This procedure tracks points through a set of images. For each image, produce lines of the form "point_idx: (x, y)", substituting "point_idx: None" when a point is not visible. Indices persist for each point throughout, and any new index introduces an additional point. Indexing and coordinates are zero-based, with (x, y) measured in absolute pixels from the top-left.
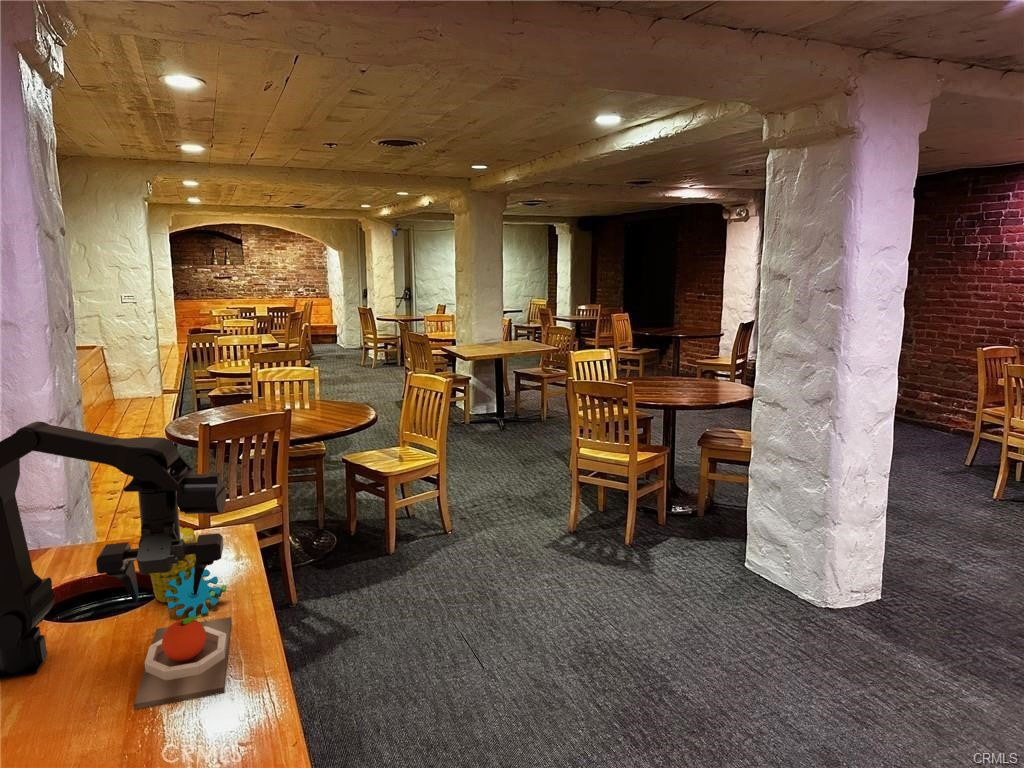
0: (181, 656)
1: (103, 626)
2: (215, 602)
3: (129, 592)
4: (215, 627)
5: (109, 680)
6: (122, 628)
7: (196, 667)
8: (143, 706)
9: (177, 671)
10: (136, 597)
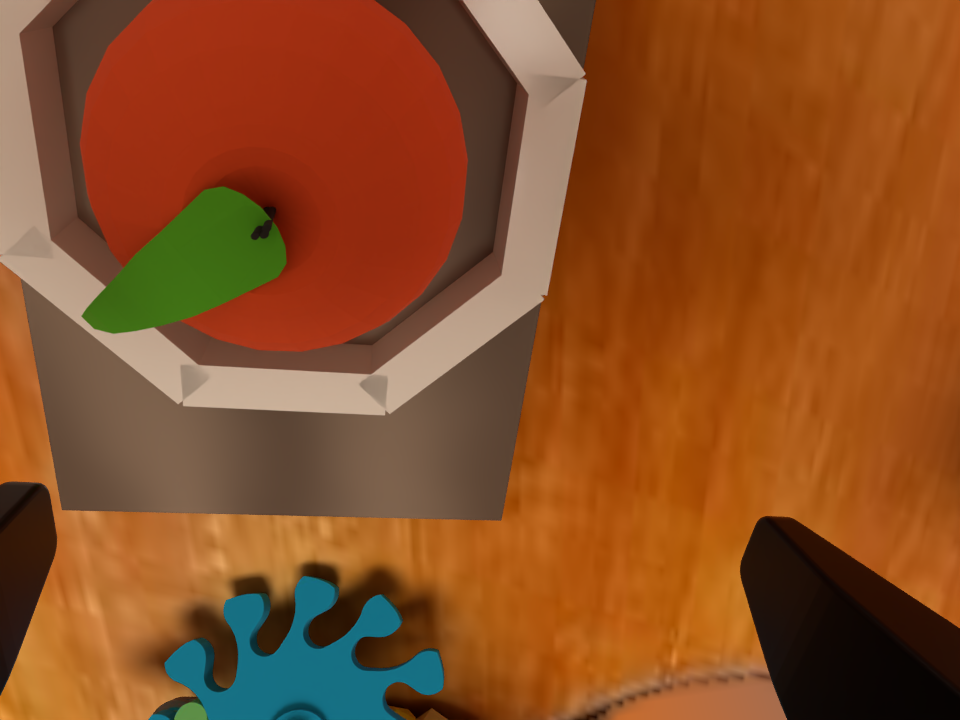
0: None
1: (727, 623)
2: (179, 654)
3: (947, 628)
4: (148, 429)
5: (762, 125)
6: (653, 588)
7: None
8: None
9: None
10: (806, 558)
